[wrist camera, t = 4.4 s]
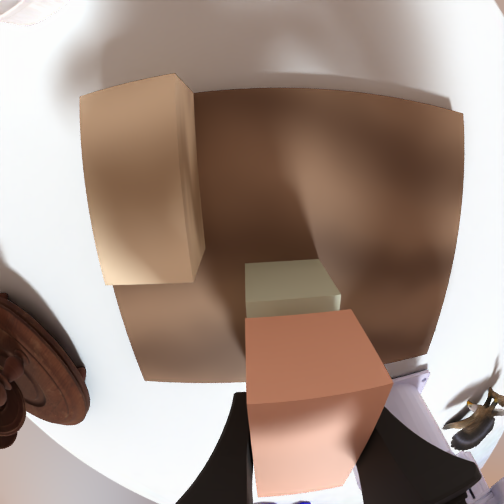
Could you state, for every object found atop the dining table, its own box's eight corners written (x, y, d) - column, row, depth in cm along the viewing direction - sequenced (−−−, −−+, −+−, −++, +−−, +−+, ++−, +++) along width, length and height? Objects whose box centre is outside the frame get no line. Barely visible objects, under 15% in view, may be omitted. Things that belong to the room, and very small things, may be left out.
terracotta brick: (327, 427, 13) (342, 485, 9) (254, 434, 13) (258, 497, 9) (351, 309, 10) (393, 383, 6) (245, 318, 10) (246, 404, 6)
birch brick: (205, 247, 15) (193, 282, 11) (135, 252, 15) (105, 285, 11) (193, 93, 12) (174, 73, 8) (118, 106, 12) (79, 96, 8)
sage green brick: (310, 366, 18) (323, 410, 14) (252, 371, 18) (254, 417, 14) (318, 259, 15) (341, 294, 11) (244, 263, 15) (245, 302, 11)
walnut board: (421, 346, 19) (426, 353, 18) (147, 371, 19) (144, 380, 18) (453, 113, 13) (463, 113, 12) (95, 116, 13) (87, 115, 12)
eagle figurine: (488, 381, 22) (440, 438, 22) (519, 409, 17) (471, 466, 17) (478, 378, 27) (439, 426, 28) (506, 402, 22) (466, 450, 23)
